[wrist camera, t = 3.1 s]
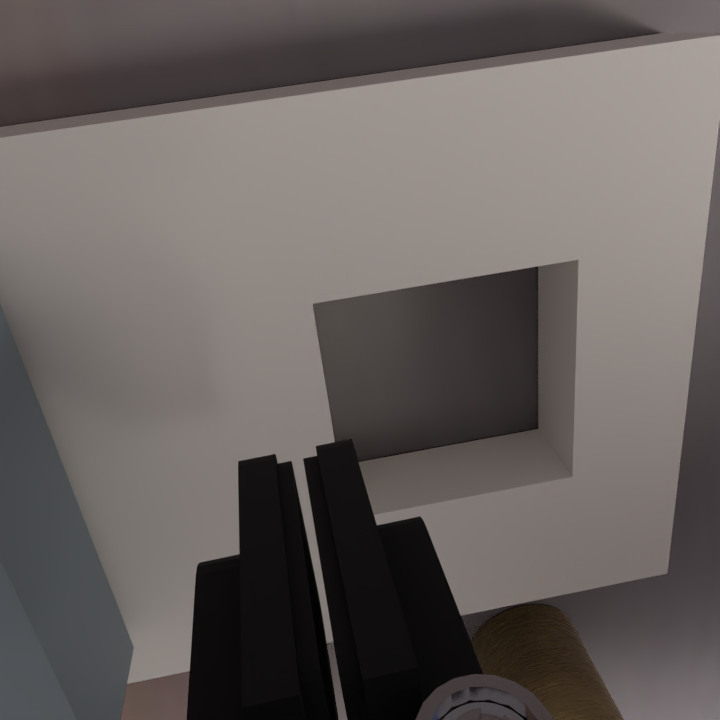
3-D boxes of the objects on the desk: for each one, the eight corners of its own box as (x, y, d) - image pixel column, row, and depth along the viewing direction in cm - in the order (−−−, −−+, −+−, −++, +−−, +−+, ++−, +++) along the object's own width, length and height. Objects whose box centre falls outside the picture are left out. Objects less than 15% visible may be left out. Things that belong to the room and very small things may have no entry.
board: (664, 32, 13) (733, 33, 11) (627, 520, 18) (669, 576, 17) (-719, 228, 11) (-914, 268, 9) (-309, 705, 17) (-380, 791, 15)
